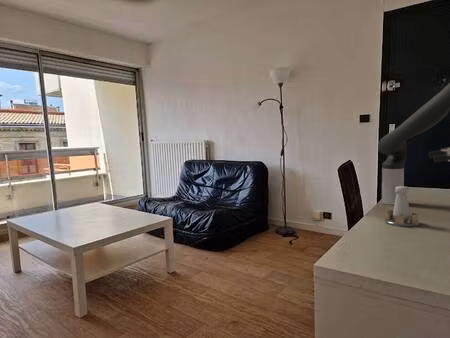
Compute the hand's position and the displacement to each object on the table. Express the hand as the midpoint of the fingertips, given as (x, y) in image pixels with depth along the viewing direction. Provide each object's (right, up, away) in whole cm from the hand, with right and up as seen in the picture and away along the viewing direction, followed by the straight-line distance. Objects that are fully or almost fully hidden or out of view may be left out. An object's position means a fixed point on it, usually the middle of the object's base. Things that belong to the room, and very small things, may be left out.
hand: (431, 157), depth 109 cm
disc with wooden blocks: (-9, -24, +4) cm, 26 cm away
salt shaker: (-9, -24, +4) cm, 26 cm away
